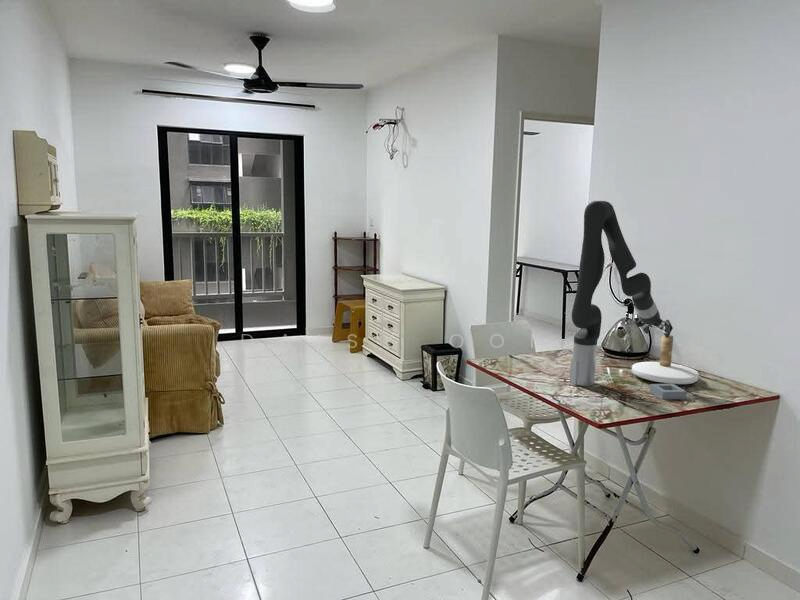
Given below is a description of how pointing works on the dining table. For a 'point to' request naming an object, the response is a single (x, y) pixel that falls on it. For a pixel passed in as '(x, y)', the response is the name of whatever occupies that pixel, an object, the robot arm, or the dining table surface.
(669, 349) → the dowel
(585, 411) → the dining table surface
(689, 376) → the plate
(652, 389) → the socket block
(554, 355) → the dining table surface
